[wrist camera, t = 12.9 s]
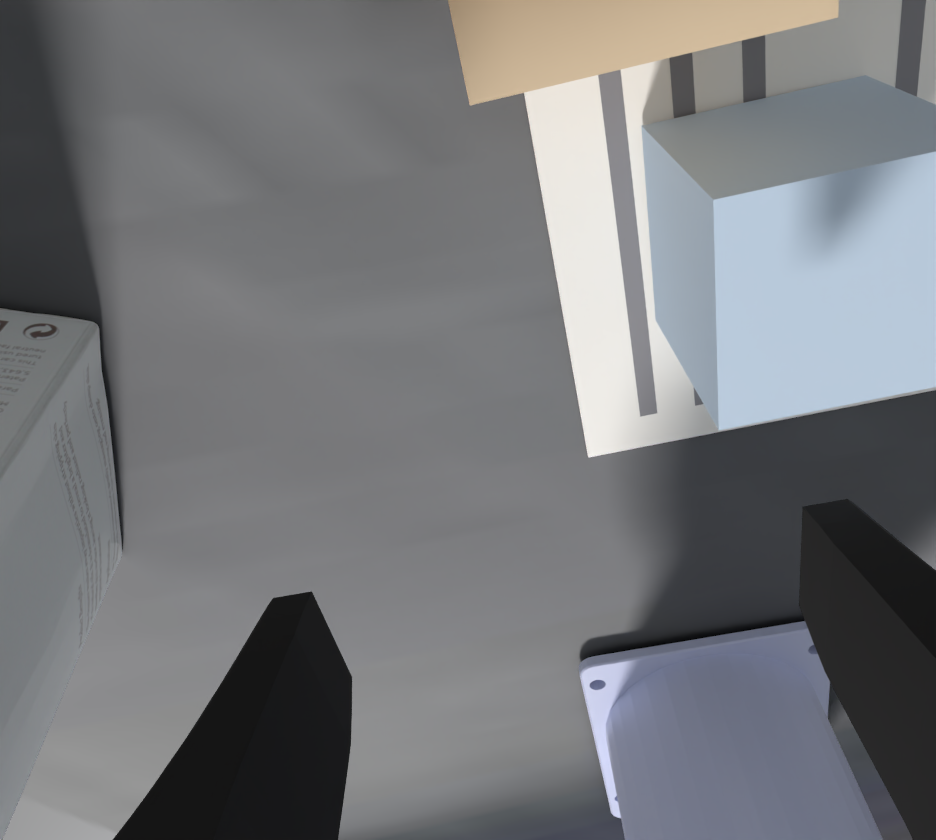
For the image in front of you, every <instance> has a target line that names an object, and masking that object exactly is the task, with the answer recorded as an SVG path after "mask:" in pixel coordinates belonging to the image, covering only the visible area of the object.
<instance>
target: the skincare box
mask: <svg viewBox="0 0 936 840" xmlns="http://www.w3.org/2000/svg"><path fill="white" fill-rule="evenodd" d="M121 558H122V541H121V531H120V521H119V512H118V501H117V490H116V480H115V470H114V460H113V451H112V442H111V432H110V423H109V413H108V406H107V400H106V393H105V387H104V381H103V376H102V368H101V353H100V335H99V327H98V325H97V324H96V323H94V322H92V321H87V320H82V319H76V318H70V317H63V316H56V315H49V314H36V313H29V312H22V311H15V310H9V309H2V308H0V840H3V837H4V835H5V832H6V830H7V828H8V825H9V823H10V820H11V818H12V816H13V813H14V811H15V808H16V806H17V804H18V801H19V799H20V797H21V794H22V792H23V790H24V787H25V785H26V783H27V780H28V778H29V775H30V773H31V771H32V768H33V766H34V763H35V761H36V759H37V756H38V754H39V751H40V749H41V747H42V744H43V742H44V739H45V737H46V735H47V732H48V730H49V727H50V725H51V723H52V720H53V718H54V715H55V713H56V710H57V708H58V706H59V703H60V701H61V699H62V696H63V694H64V691H65V689H66V687H67V684H68V682H69V679H70V677H71V675H72V672H73V670H74V668H75V665H76V663H77V660H78V658H79V655H80V653H81V651H82V648H83V646H84V643H85V641H86V639H87V636H88V634H89V632H90V629H91V627H92V624H93V622H94V620H95V617H96V615H97V613H98V610H99V608H100V605H101V603H102V601H103V598H104V596H105V594H106V591H107V589H108V586H109V584H110V582H111V579H112V577H113V575H114V572H115V570H116V568H117V565H118V563H119V561H120V560H121Z"/></svg>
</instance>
